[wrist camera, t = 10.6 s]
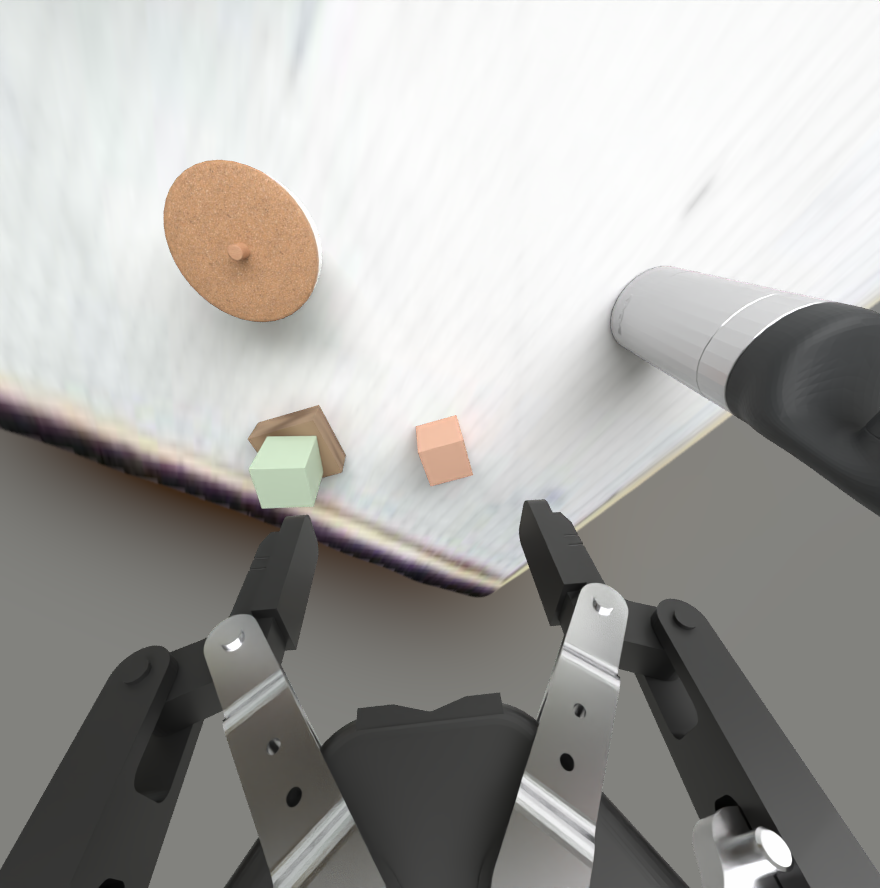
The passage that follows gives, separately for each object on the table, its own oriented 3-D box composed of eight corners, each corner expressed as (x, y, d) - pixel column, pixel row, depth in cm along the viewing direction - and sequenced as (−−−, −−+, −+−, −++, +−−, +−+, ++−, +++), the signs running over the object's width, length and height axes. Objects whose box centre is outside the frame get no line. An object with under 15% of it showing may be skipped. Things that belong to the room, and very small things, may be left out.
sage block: (316, 435, 41) (304, 467, 36) (323, 472, 44) (313, 506, 39) (267, 436, 40) (248, 469, 35) (277, 473, 43) (262, 508, 38)
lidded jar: (185, 182, 30) (110, 173, 22) (307, 158, 30) (276, 141, 22) (244, 311, 36) (202, 339, 28) (346, 291, 36) (332, 314, 28)
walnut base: (319, 403, 43) (313, 420, 40) (345, 453, 47) (342, 472, 44) (259, 421, 43) (247, 439, 40) (290, 469, 48) (283, 488, 45)
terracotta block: (456, 414, 45) (463, 440, 40) (465, 447, 48) (472, 474, 44) (415, 426, 46) (418, 452, 41) (427, 458, 49) (430, 486, 44)
